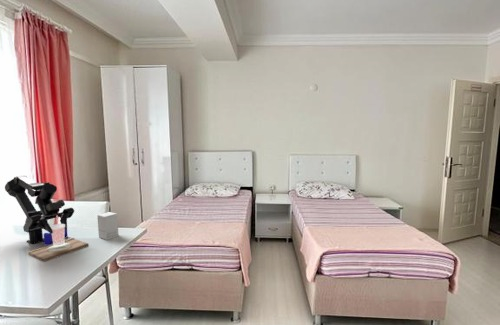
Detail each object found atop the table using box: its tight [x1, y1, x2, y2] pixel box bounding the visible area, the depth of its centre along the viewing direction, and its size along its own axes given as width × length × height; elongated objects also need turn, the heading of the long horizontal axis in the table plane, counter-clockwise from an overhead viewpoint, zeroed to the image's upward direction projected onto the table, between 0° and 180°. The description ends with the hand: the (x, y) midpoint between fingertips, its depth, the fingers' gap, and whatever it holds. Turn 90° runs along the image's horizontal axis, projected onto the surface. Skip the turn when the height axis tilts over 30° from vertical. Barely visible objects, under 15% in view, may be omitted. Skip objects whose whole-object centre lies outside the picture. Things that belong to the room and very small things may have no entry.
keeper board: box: [28, 237, 89, 262], centre depth 139 cm, size 14×20×2 cm
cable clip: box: [43, 229, 68, 246], centre depth 152 cm, size 12×4×6 cm, turn 173°
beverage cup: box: [50, 215, 66, 246], centre depth 139 cm, size 6×6×14 cm
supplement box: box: [97, 211, 119, 241], centre depth 157 cm, size 7×7×13 cm
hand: (59, 231), depth 138 cm, fingers closed on beverage cup, 6 cm apart
